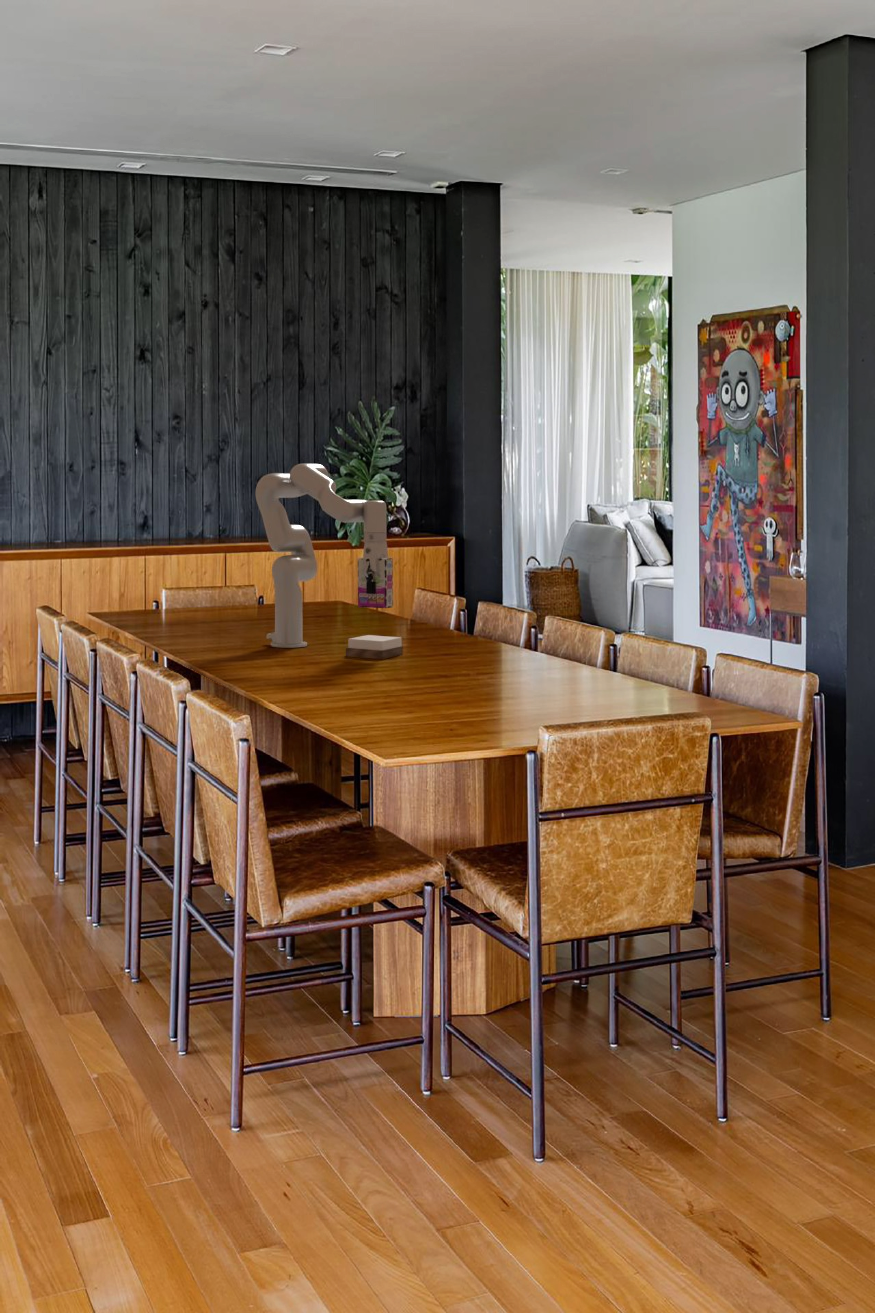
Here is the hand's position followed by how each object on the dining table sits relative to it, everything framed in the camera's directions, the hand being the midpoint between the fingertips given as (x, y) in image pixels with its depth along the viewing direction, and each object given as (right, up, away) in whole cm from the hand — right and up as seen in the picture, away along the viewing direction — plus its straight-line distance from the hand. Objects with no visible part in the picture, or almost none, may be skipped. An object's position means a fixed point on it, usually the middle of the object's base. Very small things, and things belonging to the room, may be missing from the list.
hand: (375, 592), depth 470 cm
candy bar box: (0, -5, +1) cm, 5 cm away
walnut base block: (0, -22, +3) cm, 22 cm away
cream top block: (0, -18, +2) cm, 18 cm away
